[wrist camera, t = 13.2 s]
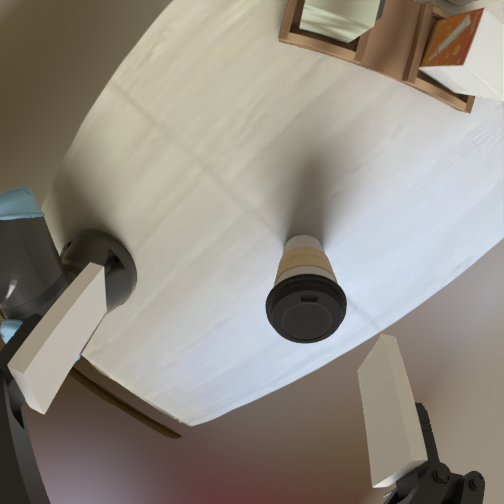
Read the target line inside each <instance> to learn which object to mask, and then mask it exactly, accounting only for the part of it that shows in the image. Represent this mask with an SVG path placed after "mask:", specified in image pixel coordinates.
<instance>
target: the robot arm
mask: <svg viewBox="0 0 504 504" xmlns="http://www.w3.org/2000/svg"><path fill="white" fill-rule="evenodd" d="M44 216H45V215H44V213H43V212H42V211H41V209H40V206H39V204H38V202H37V199H36V196H35V194H34V192H33V191H32V190H31V189H29V188H27V187H20V188H17V189H13V190H10V191H7V192H4V193H2V194H0V308H1V310H2V312H3V314H4V315H5V317H6V320H4V321H3V322H2V325H1V328H0V331H1V335H2V338H3V340H4V342H5V343H6V345H5V346H4V347H3V349H2V350H1V352H0V504H50V501H49V498H48V496H47V493H46V490H45V487H44V484H43V481H42V478H41V475H40V472H39V469H38V466H37V462H36V459H35V456H34V452H33V448H32V445H31V441H30V437H29V433H28V429H27V424H26V419H25V415H24V410H23V407H22V404H23V402H24V401H25V400H26V401H27V403H28V405H29V407H31V408H33V409H35V410H37V411H38V412H40V413H42V414H45V413H46V411H47V409H48V407H49V405H50V404H51V402H52V400H53V398H54V396H55V395H56V393H57V391H58V389H59V388H60V386H61V384H62V382H63V381H64V379H65V377H66V375H67V374H68V372H69V371H70V369H71V368H72V366H73V364H74V363H75V362H76V361H77V360H78V359H79V358H80V355H81V354H82V352H83V350H84V349H85V347H86V345H87V344H88V342H89V340H90V339H91V337H92V335H93V334H94V332H95V331H96V329H97V327H98V326H99V324H100V323H101V321H102V319H103V318H104V316H105V315H106V314H108V313H109V312H111V311H112V310H114V309H115V308H116V307H118V306H120V305H122V304H123V303H125V302H126V301H127V300H128V298H129V297H130V295H131V294H132V292H133V291H134V289H135V286H136V282H137V273H136V268H135V265H134V262H133V260H132V258H131V256H130V255H129V253H128V252H127V250H126V249H125V248H124V247H123V246H122V245H121V244H120V243H119V242H118V241H117V240H116V239H114V238H113V237H112V236H110V235H108V234H106V233H104V232H101V231H98V230H92V229H88V230H83V231H80V232H78V233H76V234H75V235H74V236H73V237H72V238H71V239H69V240H68V242H67V243H66V244H65V246H64V248H63V250H62V252H61V254H60V256H59V254H58V251H57V249H56V247H55V244H54V242H53V239H52V237H51V234H50V232H49V229H48V226H47V224H46V221H45V218H44ZM357 372H358V378H359V384H360V391H361V397H362V404H363V411H364V418H365V426H366V432H367V441H368V450H369V459H370V469H371V479H372V487H388V486H389V485H391V484H392V483H394V482H396V486H397V487H396V488H394V489H393V490H391V491H389V492H388V493H386V494H385V495H384V496H383V497H384V498H385V497H387V496H389V497H388V498H387V500H386V501H385V502H384V504H482V503H483V496H484V490H485V481H484V478H483V476H482V475H481V474H480V473H479V472H477V471H471V472H469V473H467V474H466V475H464V476H463V475H459V474H455V473H451V472H450V470H449V468H448V467H447V466H446V465H445V464H443V463H441V462H440V461H439V457H438V453H437V448H436V444H435V440H434V436H433V432H432V428H431V424H430V420H429V417H428V413H427V411H426V410H425V408H424V406H423V405H422V403H415V402H414V399H413V395H412V391H411V388H410V384H409V381H408V377H407V374H406V370H405V367H404V364H403V360H402V357H401V354H400V351H399V348H398V345H397V341H396V338H395V336H389V335H384V334H382V335H381V336H380V338H379V339H378V341H377V343H376V344H375V345H374V347H373V348H372V350H371V351H370V353H369V354H368V356H367V357H366V359H365V360H364V362H363V363H362V365H361V366H360V368H359V369H358V370H357Z"/></svg>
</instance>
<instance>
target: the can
mask: <svg viewBox="0 0 504 504" xmlns="http://www.w3.org/2000/svg"><path fill="white" fill-rule="evenodd" d="M447 1H449V2H451V3H454V4H457V5H465V4H468V3H471V2H474V1H477V0H447Z"/></svg>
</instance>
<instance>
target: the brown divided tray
mask: <svg viewBox="0 0 504 504" xmlns="http://www.w3.org/2000/svg"><path fill="white" fill-rule="evenodd" d="M449 17H452V15H450V14H448V13H447V12H445V11H443V10H441V9H439V8H438V7H436V6H434V5H432V4H430V3H428V2H426V3H424V4H422V5H420V4H418V3H416V2H414V1H412V0H289V1H288V5H287V8H286V12H285V15H284V19H283V23H282V26H281V30H280V34H279V37H278V38H279V42H282V43H287V44H291V45H294V46H298V47H302V48H306V49H309V50H313V51H316V52H320V53H323V54H326V55H330V56H333V57H336V58H339V59H342V60H345V61H348V62H351V63H354V64H356V65H359V66H362V67H365V68H367V69H370V70H373V71H375V72H378V73H380V74H383V75H385V76H388V77H390V78H392V79H395V80H397V81H399V82H402V83H404V84H406V85H408V86H411V87H413V88H415V89H417V90H419V91H421V92H423V93H426V94H428V95H430V96H432V97H434V98H436V99H438V100H440V101H441V102H443V103H445V104H447V105H449V106H451V107H453V108H455V109H456V110H458V111H462V112H466V113H471V110H472V106H473V103H474V99H475V96H473V95H466V94H460V93H454V92H450V91H449V90H448V89H446V88H445V87H443V86H442V85H441V84H439V83H438V82H436V81H435V80H433V79H432V78H431V77H429V76H428V75H426V74H425V73H423V72H422V71H420V70H418V69H419V66H420V62H421V58H422V54H423V50H424V47H425V45H426V42H427V40H428V37H429V35H430V32H431V30H432V27H433V24H434V22H436V21H439V20H442V19H445V18H449Z"/></svg>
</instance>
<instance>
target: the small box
mask: <svg viewBox="0 0 504 504" xmlns="http://www.w3.org/2000/svg"><path fill="white" fill-rule="evenodd" d="M418 70H420V71H422V72H423V73H425V74H426V75H428V76H429V77H431V78H432V79H433V80H435V81H436V82H438V83H439V84H441V85H442V86H443V87H445V88H446V89H448V90H449V91H450V92H454V93H460V94H466V95H473V96H479V97H484V98H489V99H495V100H499V101H503V102H504V24H503V23H502V22H501V21H500V20H499V19H497V18H496V17H495V16H494V15H493V14H492V13H490V12H489V11H488V10H487V9H486V8H481V9H477V10H473V11H470V12H466V13H462V14H459V15H455V16H452V17H449V18H445V19H442V20H439V21H436V22H434V24H433V27H432V30H431V32H430V35H429V37H428V40H427V42H426V45H425V47H424V50H423V54H422V58H421V62H420V66H419V69H418Z"/></svg>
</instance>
